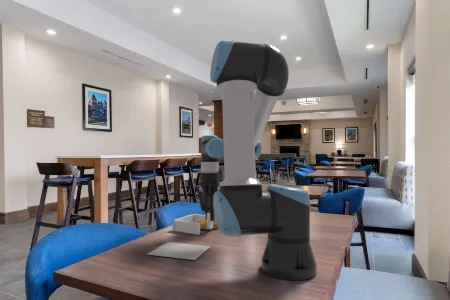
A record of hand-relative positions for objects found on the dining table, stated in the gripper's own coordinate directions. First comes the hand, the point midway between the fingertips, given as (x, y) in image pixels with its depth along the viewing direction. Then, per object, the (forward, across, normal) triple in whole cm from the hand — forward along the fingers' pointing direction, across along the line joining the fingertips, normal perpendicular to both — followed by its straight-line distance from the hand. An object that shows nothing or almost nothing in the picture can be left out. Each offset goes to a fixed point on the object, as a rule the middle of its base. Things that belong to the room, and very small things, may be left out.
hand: (210, 228), depth 123 cm
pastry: (+1, +4, -3) cm, 5 cm away
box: (+1, +8, 0) cm, 8 cm away
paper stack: (+2, -8, +21) cm, 23 cm away
